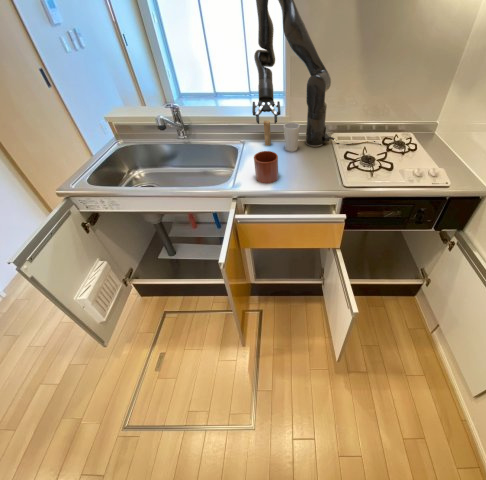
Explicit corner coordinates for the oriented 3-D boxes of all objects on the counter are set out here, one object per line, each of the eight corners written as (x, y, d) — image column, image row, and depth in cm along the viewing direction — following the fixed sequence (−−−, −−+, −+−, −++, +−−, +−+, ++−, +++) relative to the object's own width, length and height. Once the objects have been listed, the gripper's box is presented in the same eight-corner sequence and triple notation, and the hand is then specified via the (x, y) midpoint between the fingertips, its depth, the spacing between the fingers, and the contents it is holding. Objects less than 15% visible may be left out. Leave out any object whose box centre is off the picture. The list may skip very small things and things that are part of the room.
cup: (281, 150, 137) (280, 127, 129) (287, 143, 142) (287, 121, 134) (295, 153, 135) (295, 130, 126) (301, 146, 140) (302, 123, 131)
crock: (275, 169, 124) (275, 149, 117) (280, 181, 118) (280, 161, 110) (254, 172, 123) (252, 152, 116) (258, 184, 116) (255, 164, 109)
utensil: (270, 142, 143) (269, 120, 135) (271, 145, 141) (270, 122, 133) (264, 143, 143) (263, 120, 134) (265, 146, 141) (264, 123, 132)
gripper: (251, 87, 131) (252, 120, 131) (279, 86, 131) (280, 119, 132) (252, 95, 139) (253, 126, 139) (279, 94, 139) (280, 125, 139)
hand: (266, 123), depth 135 cm, fingers open, 8 cm apart
